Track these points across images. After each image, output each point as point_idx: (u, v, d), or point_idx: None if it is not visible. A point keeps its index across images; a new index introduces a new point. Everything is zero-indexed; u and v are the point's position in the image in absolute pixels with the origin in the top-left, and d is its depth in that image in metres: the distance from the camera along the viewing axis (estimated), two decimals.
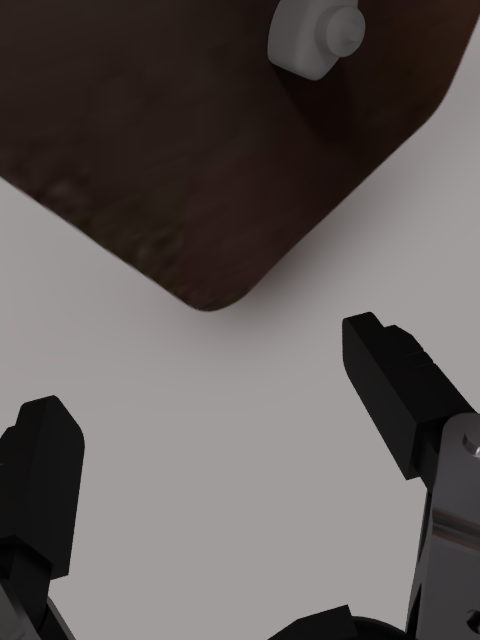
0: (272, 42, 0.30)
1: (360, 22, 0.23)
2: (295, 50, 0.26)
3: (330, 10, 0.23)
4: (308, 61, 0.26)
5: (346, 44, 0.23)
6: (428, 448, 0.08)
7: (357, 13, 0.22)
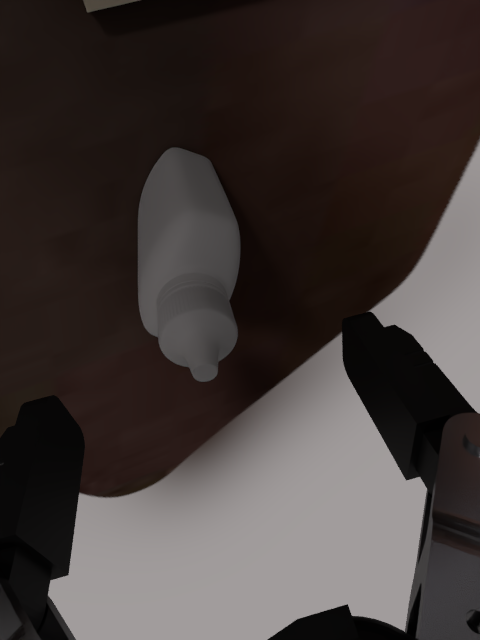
0: None
1: (223, 328, 0.12)
2: (140, 312, 0.15)
3: (171, 295, 0.12)
4: None
5: None
6: (428, 448, 0.08)
7: (215, 318, 0.11)
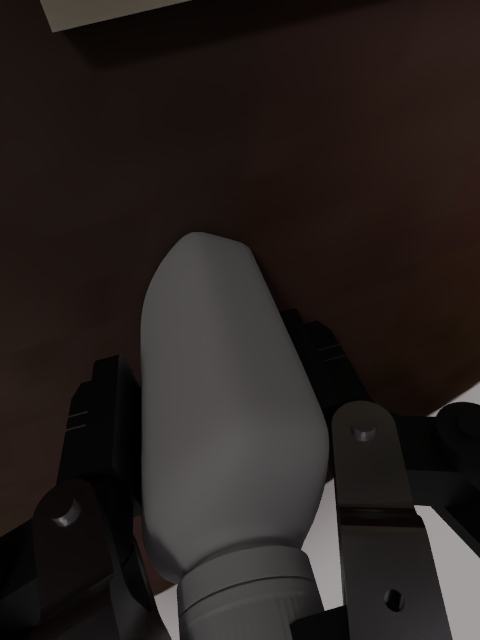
0: None
1: None
2: None
3: (212, 624, 0.06)
4: None
5: None
6: None
7: None
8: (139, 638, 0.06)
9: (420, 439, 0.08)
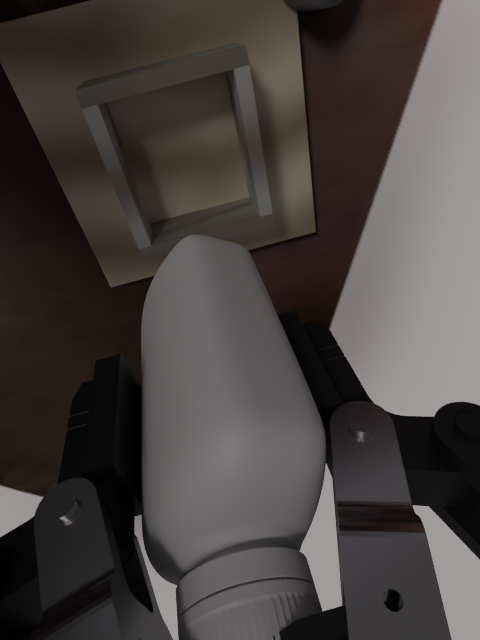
0: None
1: None
2: (146, 552, 0.09)
3: (209, 625, 0.06)
4: None
5: None
6: None
7: None
8: (140, 638, 0.06)
9: (418, 439, 0.08)
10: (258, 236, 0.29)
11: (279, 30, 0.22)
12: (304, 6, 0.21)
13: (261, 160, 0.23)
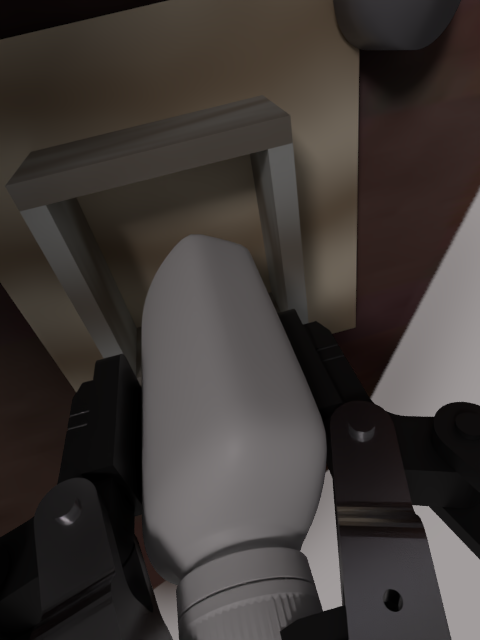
0: None
1: None
2: (147, 552, 0.09)
3: (210, 625, 0.06)
4: None
5: None
6: None
7: None
8: (140, 638, 0.06)
9: (418, 439, 0.08)
10: None
11: (330, 77, 0.15)
12: (375, 45, 0.13)
13: (299, 269, 0.15)
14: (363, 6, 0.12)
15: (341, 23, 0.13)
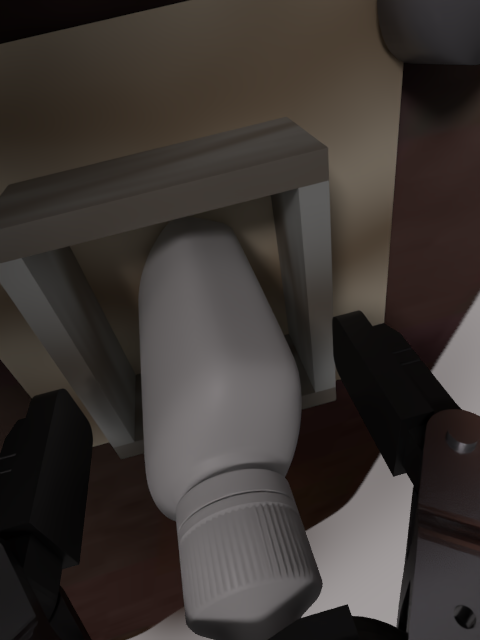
0: None
1: (302, 598, 0.06)
2: (151, 494, 0.10)
3: (202, 530, 0.07)
4: None
5: None
6: (413, 444, 0.08)
7: (287, 590, 0.06)
8: None
9: None
10: None
11: (368, 96, 0.12)
12: (425, 59, 0.11)
13: (329, 322, 0.13)
14: (418, 11, 0.10)
15: (385, 32, 0.11)
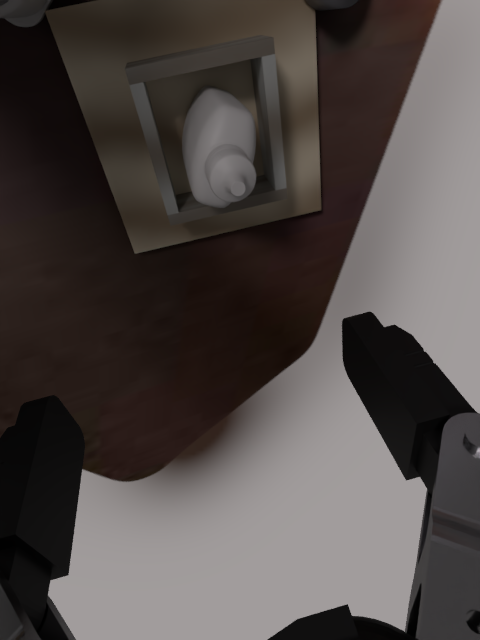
0: (183, 154, 0.27)
1: (248, 169, 0.20)
2: (192, 184, 0.23)
3: (215, 154, 0.20)
4: (206, 195, 0.23)
5: None
6: (428, 448, 0.08)
7: (242, 161, 0.19)
8: None
9: None
10: (270, 211, 0.33)
11: (299, 26, 0.25)
12: (322, 6, 0.24)
13: (280, 139, 0.26)
14: None
15: None
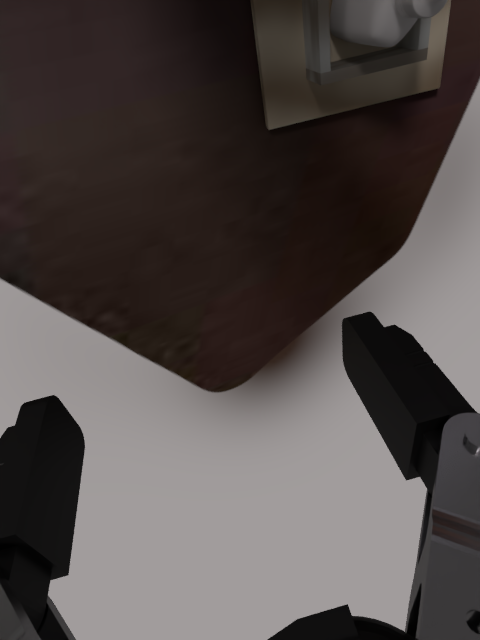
0: (337, 14, 0.29)
1: None
2: (372, 17, 0.25)
3: None
4: (385, 27, 0.25)
5: (433, 3, 0.22)
6: (428, 448, 0.08)
7: None
8: None
9: None
10: (394, 88, 0.35)
11: None
12: None
13: None
14: None
15: None
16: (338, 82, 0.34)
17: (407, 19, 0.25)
